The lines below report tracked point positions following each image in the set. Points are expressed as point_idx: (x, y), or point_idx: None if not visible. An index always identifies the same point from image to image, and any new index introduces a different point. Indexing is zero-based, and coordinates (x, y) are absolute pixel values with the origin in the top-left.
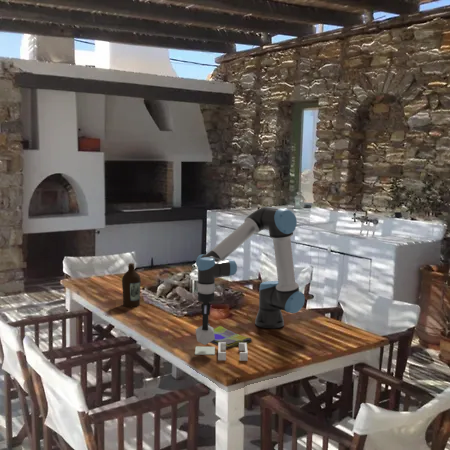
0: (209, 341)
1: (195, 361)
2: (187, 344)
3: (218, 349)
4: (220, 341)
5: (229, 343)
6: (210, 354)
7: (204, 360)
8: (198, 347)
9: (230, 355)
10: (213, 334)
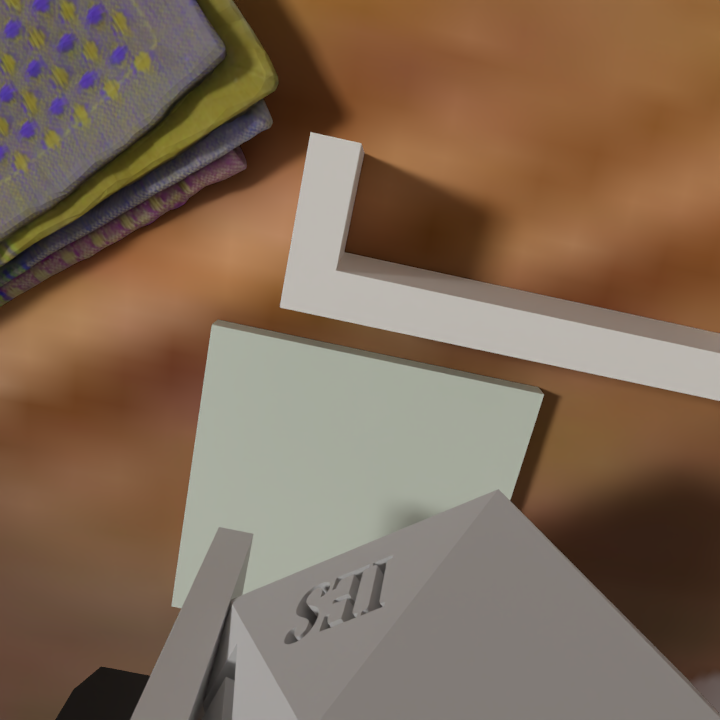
0: (657, 649)
1: (694, 674)
2: (38, 670)
3: (704, 391)
4: (4, 185)
5: (205, 22)
6: (521, 454)
7: (699, 565)
8: None
9: (621, 118)
10: (683, 679)
